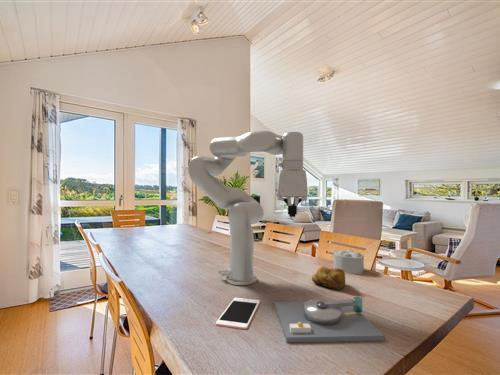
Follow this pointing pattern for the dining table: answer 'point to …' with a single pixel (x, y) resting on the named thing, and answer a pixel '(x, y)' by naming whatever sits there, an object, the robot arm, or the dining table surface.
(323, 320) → the dial
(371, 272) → the dining table surface
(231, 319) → the cell phone
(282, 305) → the stand
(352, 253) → the lumpy-topped squat cylinder
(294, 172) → the robot arm
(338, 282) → the brown irregular lump
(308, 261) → the dining table surface
